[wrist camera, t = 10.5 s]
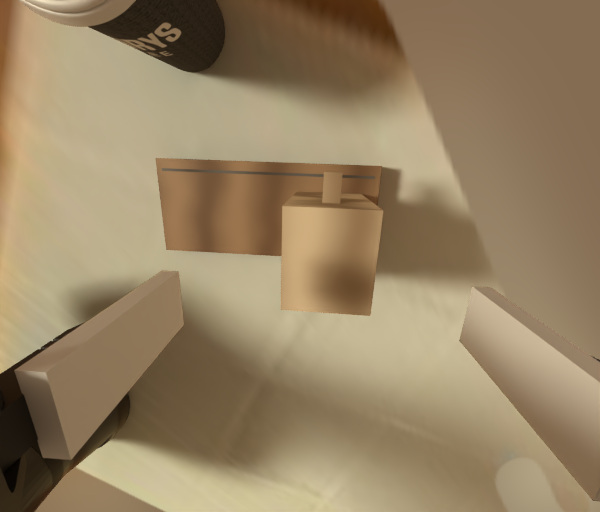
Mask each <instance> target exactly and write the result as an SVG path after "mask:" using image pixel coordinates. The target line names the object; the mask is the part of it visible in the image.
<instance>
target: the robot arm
mask: <svg viewBox="0 0 600 512" xmlns="http://www.w3.org/2000/svg"><path fill="white" fill-rule="evenodd" d="M183 325H184V320H183V310H182V300H181V290H180V280H179V271H161V272H159V273H158V274H156V275H155V276H153V277H152V278H150V279H149V280H148V281H146V282H145V283H143V284H142V285H140V286H139V287H137V288H136V289H134V290H133V291H131V292H130V293H128V294H127V295H125V296H124V297H122V298H121V299H119V300H118V301H116V302H115V303H113V304H112V305H110V306H109V307H107V308H106V309H104V310H103V311H102V312H100V313H99V314H97V315H96V316H94V317H93V318H91V319H90V320H88V321H87V322H85V323H82V324H80V325H78V326H75V327H73V328H71V329H68V330H67V331H65V332H64V333H62V334H61V335H59V336H58V337H56V338H55V339H53V341H50V342H49V343H47V344H45V345H44V346H42V347H41V349H38V350H36V351H35V352H33V353H32V354H30V355H29V356H27V357H26V358H24V359H23V360H21V361H20V362H18V363H17V364H15V365H13V366H12V367H10V368H9V369H7V370H6V371H4V372H3V373H1V374H0V512H35V510H36V509H37V508H38V507H39V505H40V504H41V503H42V502H43V501H44V499H45V498H46V497H47V496H48V495H49V493H50V492H51V491H52V489H53V488H54V487H55V486H56V485H57V484H58V482H59V481H60V480H61V479H62V478H63V477H64V476H65V475H66V474H67V473H68V472H69V471H70V470H72V469H73V468H74V467H75V466H77V465H78V464H79V463H80V462H82V461H83V460H84V459H85V458H86V457H87V456H89V455H90V454H91V453H92V452H93V451H95V450H96V449H97V448H100V447H101V446H103V445H104V444H106V443H107V442H108V441H110V440H111V439H112V438H113V437H114V436H115V434H116V433H117V432H118V430H119V429H120V428H121V426H122V425H123V424H124V423H125V421H126V419H127V417H128V414H129V408H130V405H129V398H128V394H127V392H128V391H129V390H130V389H131V388H132V386H133V385H134V384H135V383H136V382H137V380H138V379H139V378H140V377H141V376H142V374H143V373H144V372H145V371H146V370H147V368H148V367H149V366H150V365H151V364H152V362H153V361H154V360H155V359H156V358H157V356H158V355H159V354H160V353H161V352H162V350H163V349H164V348H165V347H166V346H167V344H168V343H169V342H170V341H171V340H172V338H173V337H174V336H175V335H176V334H177V332H178V331H179V330H180V329H181V328H182V326H183ZM459 341H460V342H461V343H462V344H463V345H464V347H465V348H466V349H467V350H468V351H469V353H470V354H471V355H472V356H473V357H474V359H475V360H476V361H477V362H478V363H479V365H480V366H481V367H482V368H483V369H484V371H485V372H486V373H487V374H488V375H489V377H490V378H491V379H492V380H493V381H494V383H495V384H496V385H497V386H498V387H499V389H500V390H501V391H502V392H503V393H504V395H505V396H506V397H507V398H508V399H509V401H510V402H511V403H512V404H513V405H514V407H515V408H516V409H517V410H518V411H519V413H520V414H521V415H522V416H523V417H524V418H525V420H526V421H527V422H528V423H529V424H530V426H531V427H532V428H533V429H534V430H535V432H536V433H537V434H538V435H539V436H540V438H541V439H542V440H543V441H544V442H545V444H546V445H547V446H548V447H549V448H550V450H551V451H552V452H553V453H554V454H555V456H556V457H557V458H558V459H559V460H560V462H561V463H562V464H563V465H564V466H565V468H566V469H567V470H568V471H569V472H570V474H571V475H572V476H573V477H574V478H575V480H576V481H577V482H578V483H579V484H580V486H581V487H582V488H583V489H584V490H585V491H586V493H587V494H588V495H589V496H590V497H591V499H592V500H593V501H600V360H599V359H596V358H594V357H592V356H590V355H589V354H587V353H586V352H584V351H583V350H581V349H580V348H578V347H577V346H575V345H574V344H572V343H571V342H570V341H568V340H567V339H565V338H564V337H562V336H561V335H559V334H558V333H556V332H555V331H553V330H552V329H550V328H549V327H548V326H546V325H545V324H543V323H542V322H540V321H539V320H537V319H536V318H534V317H533V316H531V315H530V314H528V313H527V312H526V311H524V310H523V309H521V308H520V307H518V306H517V305H515V304H514V303H512V302H511V301H509V300H508V299H507V298H505V297H504V296H502V295H501V294H499V293H498V292H496V291H495V290H493V289H492V288H490V287H473V286H472V290H471V294H470V298H469V303H468V307H467V311H466V315H465V319H464V324H463V328H462V332H461V336H460V340H459Z"/></svg>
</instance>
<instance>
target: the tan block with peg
mask: <svg viewBox="0 0 600 512" xmlns="http://www.w3.org/2000/svg"><path fill="white" fill-rule="evenodd" d="M341 186H342V172H324V181H323V192H301V191H297V192H296V193H295V194H294V195H293V196H292V197H291V198H290V199H289V200H288V201H287V202H286V203H285V204H284V205H283V206H282V265H281V310H294V311H309V312H323V313H338V314H352V315H367V316H370V314H371V306H372V298H373V290H374V282H375V274H376V266H377V258H378V250H379V242H380V234H381V226H382V218H383V210H382V209H381V208H379V207H378V206H377V205H375V204H374V203H373V202H371V201H370V200H369V199H367V198H366V197H365V196H363V195H362V194H349V193H341Z"/></svg>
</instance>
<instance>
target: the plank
mask: <svg viewBox="0 0 600 512" xmlns="http://www.w3.org/2000/svg"><path fill="white" fill-rule="evenodd" d="M156 165H157V174H158V182H159V191H160V199H161V208H162V216H163V225H164V233H165V241H166V250H182V251H200V252H217V253H235V254H253V255H270V256H282V206H283V205H284V204H285V203H286V202H287V201H288V200H289V199H290V198H291V197H292V196H293V195H294V194H295V193H296V192H297V191H301V192H323V181H324V172H342V186H341V193H349V194H362V195H363V196H365V197H366V198H367V199H369V200H370V201H371V202H373V203H374V204H375V205H377V203H378V194H379V186H380V178H381V169H382V166H362V165H334V164H306V163H277V162H249V161H221V160H193V159H165V158H156Z"/></svg>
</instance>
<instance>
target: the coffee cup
mask: <svg viewBox="0 0 600 512" xmlns="http://www.w3.org/2000/svg"><path fill="white" fill-rule="evenodd" d="M19 1H20V2H21V3H23V4H24V5H25V6H27V7H28V8H29V9H31V10H32V11H34V12H35V13H37V14H39V15H41V16H43V17H44V18H47V19H49V20H51V21H54V22H57V23H60V24H64V25H69V26H77V27H86V26H88V27H90V28H92V29H94V30H96V31H99V32H101V33H103V34H105V35H107V36H109V37H112V38H114V39H116V40H118V41H120V42H122V43H125V44H127V45H129V46H131V47H133V48H135V49H137V50H140V51H142V52H144V53H146V54H148V55H150V56H153V57H155V58H157V59H159V60H161V61H163V62H165V63H167V64H170V65H172V66H174V67H176V68H178V69H181V70H183V71H188V72H197V71H201V70H204V69H206V68H208V67H209V66H210V65H212V64H213V63H214V62H215V60H216V59H217V58H218V56H219V54H220V52H221V50H222V47H223V44H224V38H225V26H224V20H223V16H222V13H221V11H220V8H219V6H218V4H217V2H216V0H19Z"/></svg>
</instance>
